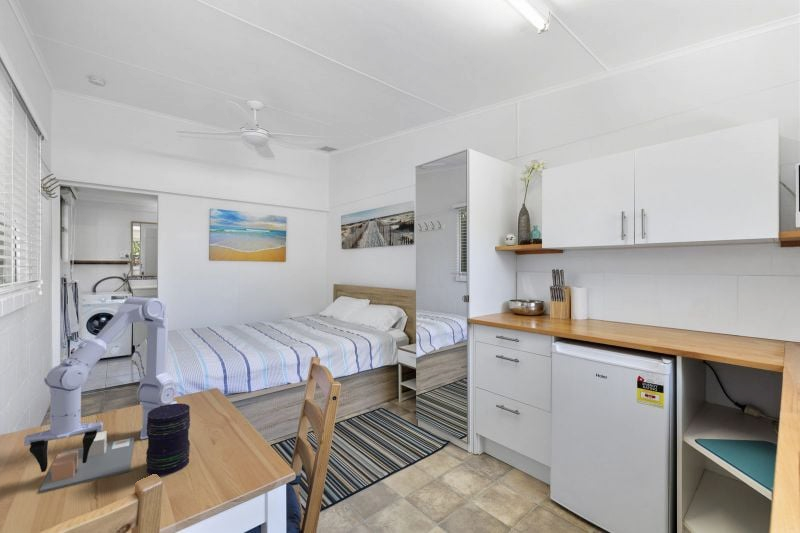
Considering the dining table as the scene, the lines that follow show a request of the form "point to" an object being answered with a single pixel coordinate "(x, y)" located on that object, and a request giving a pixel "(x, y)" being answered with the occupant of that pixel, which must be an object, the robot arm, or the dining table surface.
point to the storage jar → (168, 439)
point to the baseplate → (96, 465)
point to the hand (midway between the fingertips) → (65, 465)
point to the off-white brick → (98, 444)
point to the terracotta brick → (64, 466)
